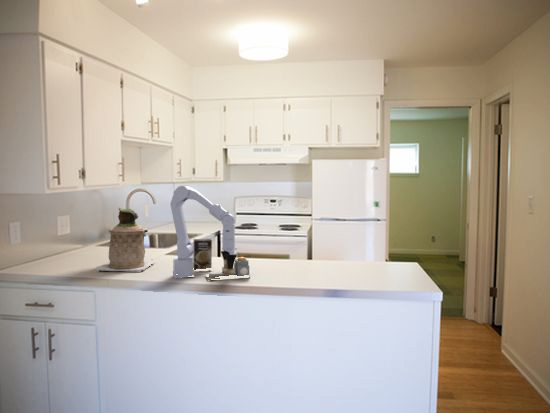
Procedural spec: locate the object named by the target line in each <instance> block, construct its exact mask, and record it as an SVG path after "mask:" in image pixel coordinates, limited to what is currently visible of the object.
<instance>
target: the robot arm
mask: <svg viewBox="0 0 550 413" xmlns="http://www.w3.org/2000/svg"><path fill="white" fill-rule="evenodd" d="M187 200H193V201H195V202H196V201H197V202H198V204H200V205H202V206H203V207H205V208H206V209H208V211H209V214H210V215H211V216H213V218H215V219H217V220H218V221H219V222H221V224H222V249H221V250H220V254H221V255H222V260H223V261H224V259H226V260H227V266H228V269H233V268H234V263H235V259H237V258H238V257H237V256H238V254H237V253H235V251H236V250H238V247H236V246H235V243H236V242H235V241H236V240H235V237H236V235H235V232H236V230H235V223H236V217H235V215H234V214H233V213H230V211H229V210H225V209H224V208H223V207H222V205H221V204H220V203H219V204H218V203H213V202H211V201H210V200H209V199H208V198H206V197H205V196H204V195H202V193H201V192H199V191H198V190H197V189H196V188H195V189H194V188H192V187H191V185H179V186H178V187H176V188H175V189H174V191H173V194H172V198H171V201H170V208H171V209H170V210H171V213H172V214H171V215H172V219H173V223H174V228H175V229H174V230H175V233H176V237H177V238H176V239H177V242H176V256H177V258H174V259H173V261H172V262H173V263H172V267H173V268H172V269H173V270H172V275H174V276H173V278H174V279H175V278H179V279H182V278H181V277H188V276H192V275H193V274H194V270H193V252H194V247H193V244H192V242H191V239H190V238H189V235H188V230H187V225H186V220H185V215H184V210H183V205H184V204H185V202H186V201H187ZM176 274H178V275H176Z"/></svg>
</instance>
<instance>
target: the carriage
mask: <svg viewBox="0 0 550 413" xmlns="http://www.w3.org/2000/svg"><path fill="white" fill-rule="evenodd" d="M221 272H224V275H229V274H235V269H234V267H233V269H228V266H227V260H226V259H224V260H223V266H222V268H221Z"/></svg>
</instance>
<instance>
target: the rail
mask: <svg viewBox="0 0 550 413" xmlns="http://www.w3.org/2000/svg"><path fill="white" fill-rule="evenodd" d="M208 274H209V277H219V276H229V275H236V272H235V274H229V275H224V272H222V271H221V272H209V273H208Z"/></svg>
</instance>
